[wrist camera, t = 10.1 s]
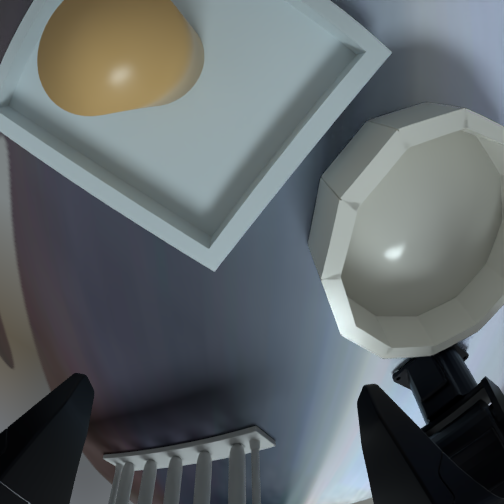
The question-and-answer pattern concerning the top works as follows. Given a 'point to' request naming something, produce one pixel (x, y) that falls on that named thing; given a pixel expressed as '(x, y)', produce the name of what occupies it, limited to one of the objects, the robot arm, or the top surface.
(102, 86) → the tan rounded cylinder
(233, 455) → the test tube rack
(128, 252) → the top surface
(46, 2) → the grey tray
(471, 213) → the ceramic dish
